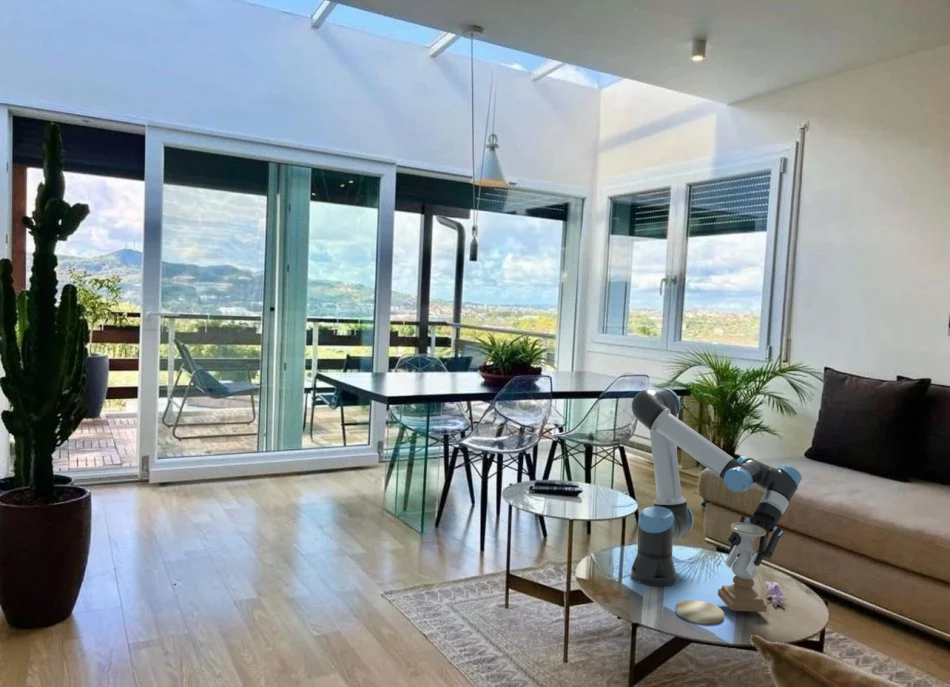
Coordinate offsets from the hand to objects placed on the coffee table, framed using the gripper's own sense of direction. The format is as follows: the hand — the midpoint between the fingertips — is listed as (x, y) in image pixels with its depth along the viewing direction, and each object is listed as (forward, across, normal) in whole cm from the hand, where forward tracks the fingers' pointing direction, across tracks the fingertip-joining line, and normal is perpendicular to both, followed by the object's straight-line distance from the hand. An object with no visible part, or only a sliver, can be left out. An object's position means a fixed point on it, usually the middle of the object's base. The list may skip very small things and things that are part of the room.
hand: (737, 568), depth 206 cm
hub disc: (+17, +6, -3) cm, 18 cm away
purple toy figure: (-5, -1, -25) cm, 25 cm away
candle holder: (+6, 0, -11) cm, 12 cm away
